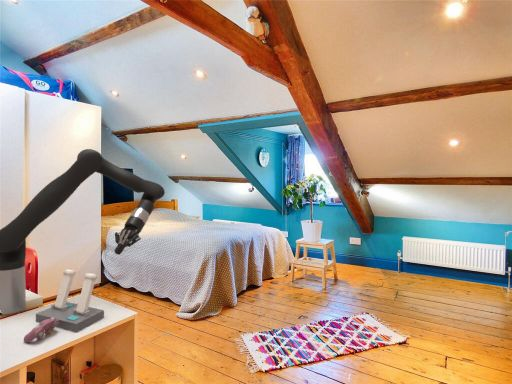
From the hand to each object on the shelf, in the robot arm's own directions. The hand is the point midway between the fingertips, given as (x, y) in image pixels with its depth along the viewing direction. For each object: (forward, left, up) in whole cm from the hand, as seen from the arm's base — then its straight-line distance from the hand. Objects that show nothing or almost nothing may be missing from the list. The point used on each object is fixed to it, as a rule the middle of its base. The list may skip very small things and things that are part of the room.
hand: (116, 253), depth 132 cm
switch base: (-5, -17, -22) cm, 28 cm away
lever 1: (-11, -17, -18) cm, 27 cm away
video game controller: (-3, -30, -22) cm, 37 cm away
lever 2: (0, -17, -18) cm, 25 cm away
